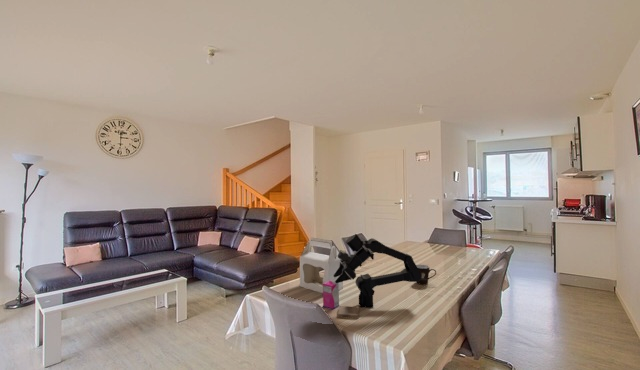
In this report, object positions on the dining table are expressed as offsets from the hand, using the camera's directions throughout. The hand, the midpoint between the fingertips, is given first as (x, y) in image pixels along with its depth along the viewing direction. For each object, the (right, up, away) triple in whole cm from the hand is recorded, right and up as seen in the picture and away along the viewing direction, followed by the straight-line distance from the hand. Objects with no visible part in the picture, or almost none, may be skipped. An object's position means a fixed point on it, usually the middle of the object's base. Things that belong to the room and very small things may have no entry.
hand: (334, 279), depth 146 cm
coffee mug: (+55, -13, +33) cm, 66 cm away
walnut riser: (+6, -13, -9) cm, 17 cm away
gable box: (-7, -13, +27) cm, 30 cm away
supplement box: (-2, -13, -1) cm, 13 cm away
